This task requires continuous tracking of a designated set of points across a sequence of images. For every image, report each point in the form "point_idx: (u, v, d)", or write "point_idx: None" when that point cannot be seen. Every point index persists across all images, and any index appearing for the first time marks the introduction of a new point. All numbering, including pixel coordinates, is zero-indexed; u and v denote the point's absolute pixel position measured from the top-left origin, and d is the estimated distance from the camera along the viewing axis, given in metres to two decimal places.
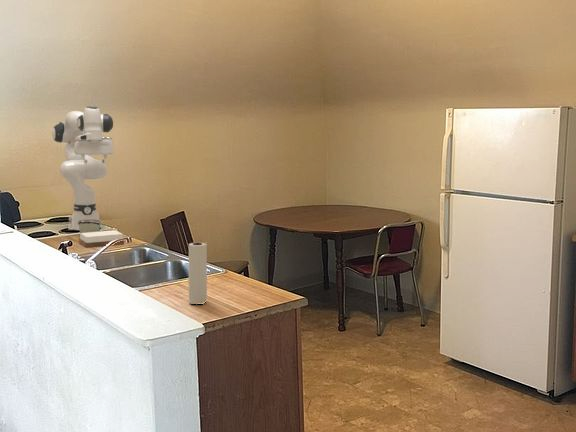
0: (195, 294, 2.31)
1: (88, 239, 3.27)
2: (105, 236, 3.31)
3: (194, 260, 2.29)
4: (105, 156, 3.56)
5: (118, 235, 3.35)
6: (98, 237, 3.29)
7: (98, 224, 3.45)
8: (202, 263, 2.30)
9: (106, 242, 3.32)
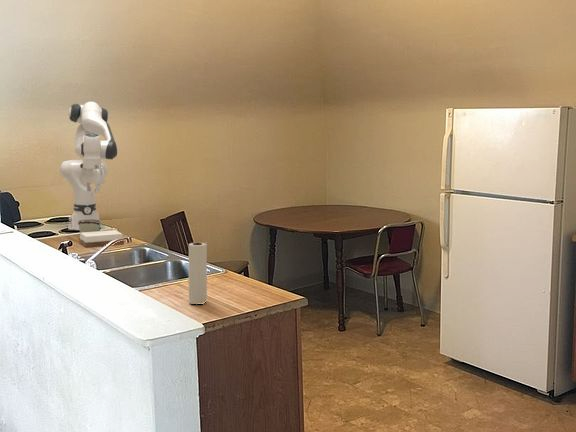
0: (195, 294, 2.31)
1: (87, 239, 3.27)
2: (104, 236, 3.31)
3: (194, 260, 2.29)
4: None
5: (117, 235, 3.35)
6: (97, 237, 3.29)
7: (98, 224, 3.45)
8: (202, 263, 2.30)
9: (106, 242, 3.32)
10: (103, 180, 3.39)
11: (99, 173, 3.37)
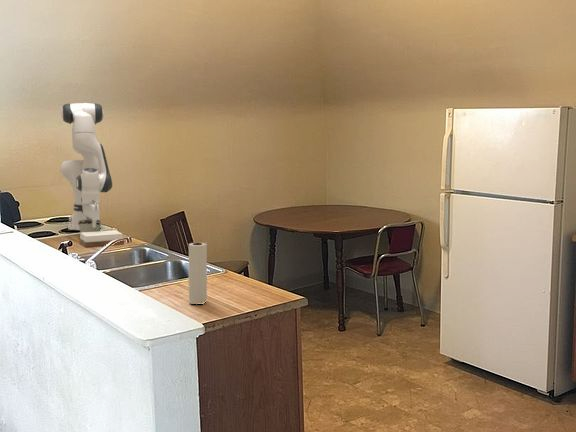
0: (195, 294, 2.31)
1: (87, 238, 3.27)
2: (104, 236, 3.31)
3: (194, 260, 2.29)
4: None
5: (118, 235, 3.35)
6: (97, 237, 3.30)
7: (98, 224, 3.44)
8: (202, 263, 2.30)
9: (106, 242, 3.31)
10: (98, 216, 3.39)
11: (94, 209, 3.38)
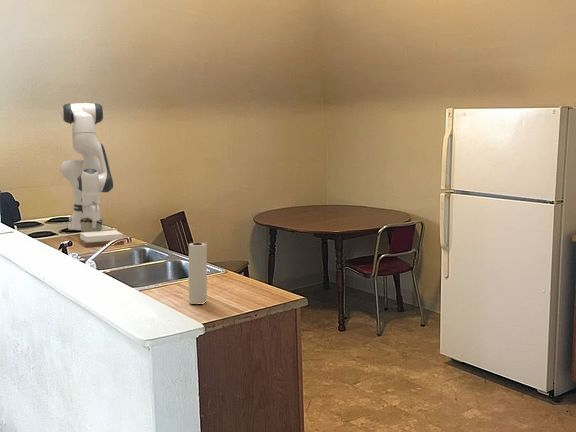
0: (195, 294, 2.31)
1: (88, 239, 3.27)
2: (105, 236, 3.31)
3: (194, 260, 2.29)
4: None
5: (118, 235, 3.35)
6: (98, 237, 3.30)
7: (100, 224, 3.46)
8: (202, 263, 2.30)
9: (106, 242, 3.31)
10: (98, 217, 3.40)
11: (94, 210, 3.38)
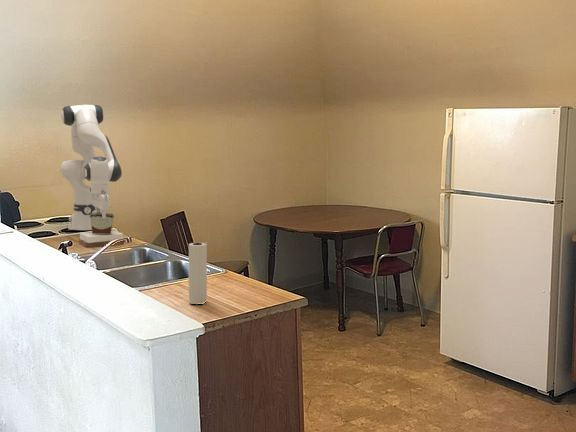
0: (195, 294, 2.31)
1: (89, 239, 3.27)
2: (106, 236, 3.32)
3: (194, 260, 2.29)
4: None
5: (119, 235, 3.36)
6: (99, 237, 3.30)
7: (111, 217, 3.32)
8: (202, 263, 2.30)
9: (106, 242, 3.32)
10: (108, 206, 3.26)
11: (104, 199, 3.25)
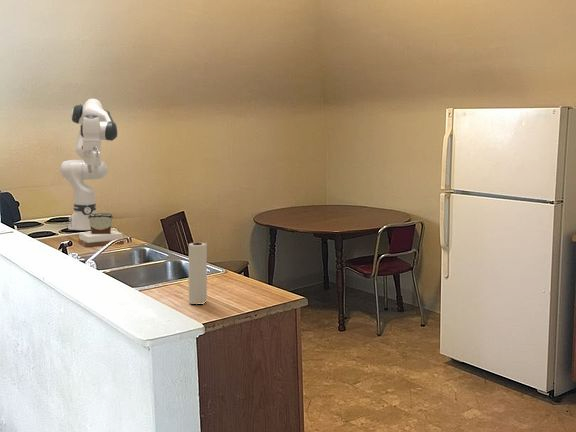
0: (195, 294, 2.31)
1: (89, 239, 3.28)
2: (105, 236, 3.33)
3: (194, 260, 2.29)
4: None
5: (118, 235, 3.37)
6: (99, 237, 3.31)
7: (110, 217, 3.34)
8: (202, 263, 2.30)
9: (106, 242, 3.33)
10: (99, 162, 3.35)
11: (95, 155, 3.34)
